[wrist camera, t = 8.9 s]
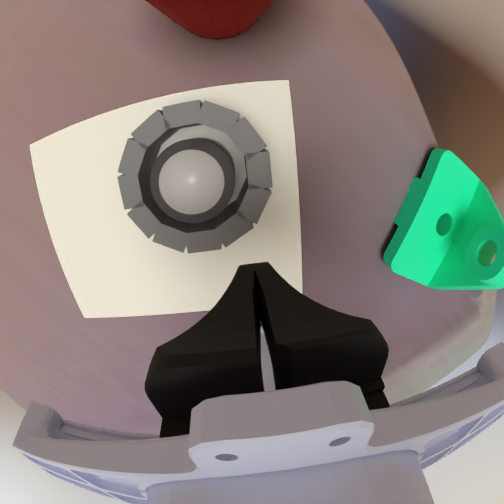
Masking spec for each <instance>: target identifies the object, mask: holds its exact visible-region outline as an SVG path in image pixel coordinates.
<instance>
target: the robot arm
mask: <svg viewBox="0 0 504 504" xmlns="http://www.w3.org/2000/svg"><path fill="white" fill-rule="evenodd" d="M261 323H262V326H261ZM388 352H389V349H388V345H387V342H386V341H385V339H384V337H383V336H382V334H381V333H380V331H379V330H378V328H377V327H376V326H375V325H374V323H373V322H372V321H371V320H368V319H364V318H359V317H355V316H350V315H347V314H344V313H341V312H338V311H335V310H333V309H330V308H328V307H325V306H323V305H321V304H319V303H317V302H315V301H313V300H311V299H310V298H308V297H306V296H305V295H303V294H302V293H300V292H299V291H297V290H296V289H295V288H294V287H292V286H291V285H290V284H289V283H288V282H287V281H286V280H285V279H284V278H282V277H281V276H280V275H279V274H278V272H277V271H276V270H275V269H274V268H273V267H272V265H271V264H270V263H269V262H261V263H253V264H244V265H240V266H239V267H238V268H237V271H236V273H235V275H234V277H233V279H232V281H231V283H230V285H229V286H228V288H227V290H226V291H225V293H224V294H223V295H222V297H221V298H220V300H219V301H218V302H217V304H216V305H215V306H214V307H213V308H212V309H211V310H210V312H209V313H208V314H206V315H205V316H204V317H203V318H202V319H201V320H200V321H199V322H197V323H196V324H195V325H194V326H192V327H191V328H190V329H188V330H187V331H185V332H184V333H182V334H181V335H179V336H178V337H176V338H174V339H172V340H170V341H169V342H167V343H165V344H163V345H161V346H159V347H157V349H156V351H155V353H154V356H153V358H152V360H151V363H150V366H149V370H148V373H147V377H146V381H145V392H146V394H147V396H148V398H149V399H150V401H151V402H152V404H153V405H154V407H155V408H156V410H157V411H158V412H159V414H160V415H161V417H162V425H161V431H160V435H154V434H143V433H134V432H126V431H118V430H112V429H106V428H100V427H95V426H90V425H85V424H81V423H76V422H72V421H68V420H64V419H63V418H62V417H61V416H60V415H59V413H58V412H56V411H55V410H54V409H53V408H51V407H49V406H46V405H43V404H39V403H36V402H31V403H30V405H29V407H28V409H27V412H26V414H25V416H24V418H23V421H22V423H21V425H20V428H19V430H18V432H17V435H16V437H15V440H14V443H13V448H14V449H16V450H17V451H18V452H19V453H21V454H22V455H23V456H25V457H26V458H27V459H29V460H30V461H31V462H33V463H34V464H36V465H37V466H38V467H40V468H41V469H43V470H44V471H46V472H47V473H49V474H50V475H52V476H54V477H56V478H59V479H61V480H64V481H66V482H68V483H71V484H73V485H76V486H79V487H81V488H84V489H87V490H89V491H92V492H95V493H98V494H101V495H104V496H107V497H110V498H113V499H116V500H120V501H124V502H127V503H131V504H434V501H433V499H432V496H431V493H430V490H429V487H428V485H427V482H426V479H425V477H424V474H423V471H422V470H423V469H425V468H426V467H428V466H430V465H432V464H434V463H435V462H437V461H439V460H441V459H442V458H444V457H446V456H447V455H449V454H450V453H452V452H454V451H455V450H457V449H458V448H460V447H461V446H463V445H464V444H466V443H467V442H469V441H470V440H472V439H473V438H474V437H475V436H477V435H478V434H480V433H481V432H482V431H484V430H485V429H487V428H488V427H489V426H491V425H492V424H493V423H495V422H496V421H497V420H498V419H500V418H501V417H502V416H503V415H504V343H503V342H500V343H499V344H497V345H495V346H494V347H492V348H490V349H488V350H487V351H486V352H485V353H484V354H483V355H482V356H481V358H480V360H479V361H478V363H477V366H476V367H475V368H473V369H471V370H469V371H467V372H465V373H463V374H462V375H460V376H457V377H456V378H454V379H451V380H450V381H447V382H445V383H443V384H441V385H439V386H437V387H434V388H432V389H430V390H427V391H425V392H423V393H420V394H418V395H415V396H413V397H410V398H408V399H405V400H402V401H399V402H397V403H394V404H391V405H389V403H388V401H387V399H386V396H385V394H384V392H383V390H384V388H385V386H384V383H383V381H382V379H381V375H382V372H383V370H384V367H385V364H386V361H387V358H388Z"/></svg>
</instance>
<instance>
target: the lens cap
mask: <svg viewBox="0 0 504 504" xmlns="http://www.w3.org/2000/svg"><path fill="white" fill-rule="evenodd" d="M150 187H151V192H152V195H153V198H154V200H155V202H156V203H157V205H158V206H159V207H160V208H161V210H162V211H163V212H165V213H166V214H167V215H168V216H170V217H172V218H174V219H176V220H178V221H181V222H186V223H199V222H204V221H207V220H209V219H212V218H213V217H215V216H217V215H218V214H219V213H221V212H222V211H223V210H224V209H225V207H226V206H227V205H228V203H229V202H230V200H231V198H232V195H233V192H234V187H235V165H234V161H233V158H232V156H231V154H230V153H229V151H228V150H227V149H226V148H225V147H224V146H223V145H222V144H221V143H219V142H217V141H215V140H213V139H210V138H204V137H198V138H192V139H186V140H181V141H178V142H176V143H174V144H172V145H170V146H169V147H167V148H166V149H165V150H164V151H162V152H161V154H160V155H159V156H158V157H157V159H156V161H155V163H154V165H153V167H152V170H151V175H150Z"/></svg>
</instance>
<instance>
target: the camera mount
mask: <svg viewBox="0 0 504 504" xmlns="http://www.w3.org/2000/svg"><path fill="white" fill-rule="evenodd" d="M394 223H395V224H397V225H398V228H397V230H396V232H395V234H394V236H393V238H392V240H391V242H390V243H389V245H388V247H387V249H386V251H385V253H384V262H385V263H386V264H387V265H388V266H389V268H390V269H391V270H392V271H393V272H395V273H397V274H399V275H402V276H404V277H406V278H409V279H411V280H414V281H416V282H419V283H421V284H423V285H426V286H428V287H431V288H433V289H435V290H479V289H480V290H481V289H502V288H504V220H503V218H502V216H501V214H500V212H499V210H498V208H497V206H496V204H495V202H494V200H493V198H492V196H491V195H490V193H489V191H488V189H487V187H486V186H485V185H484V184H483V183H482V182H481V180H480V179H478V177H477V176H476V175H475V174H474V173H473V172H472V171H471V170H470V169H469V168H468V167H467V166H466V165H465V164H464V163H463V162H462V161H461V160H460V159H459V158H458V157H457V156H456V155H455V154H454V153H452V152H451V151H448V150H444V149H439V148H436V149H434V150H433V151H432V152H431V154H430V157H429V159H428V162H427V164H426V167H425V169H424V172H423V174H422V177H421V179H420V178H417V177H414V180H413V182H412V184H411V186H410V189H409V191H408V193H407V195H406V198H405V200H404V202H403V204H402V206H401V208H400V210H399V212H398V214H397V216H396V218H395V220H394ZM496 253H497V255H496V258H495V260H494V261H493V263H492V264H490V263H491V260H492V258H493V256H494V255H495V254H496Z"/></svg>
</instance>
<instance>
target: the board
mask: <svg viewBox="0 0 504 504" xmlns="http://www.w3.org/2000/svg"><path fill="white" fill-rule="evenodd" d="M198 137H204V138H210V139H213V140H215V141H217V142H219V143H221V144H222V145H223V146H224V147H225V148H226V149H227V150H228V151H229V153H230V154H231V156H232V158H233V161H234V165H235V187H234V192H233V195H232V198H231V200H230V202H229V203H228V205H227V206H226V207H225V209H224V210H223V211H222V212H221V213H219V214H218V215H217V216H215V217H213V218H212V219H209V220H207V221H204V222H199V223H186V222H181V221H178V220H176V219H174V218H172V217H170V216H168V215H167V214H166V213H165V212H163V211H162V210H161V208H160V207H159V206H158V205H157V203H156V202H155V200H154V198H153V195H152V192H151V187H150V175H151V170H152V167H153V165H154V163H155V161H156V159H157V157H158V156H159V155H160V154H161V152H162V151H164V150H165V149H166V148H167V147H169V146H170V145H172V144H174V143H176V142H178V141H181V140H186V139H192V138H198ZM30 151H31V157H32V163H33V168H34V173H35V178H36V183H37V188H38V192H39V196H40V200H41V204H42V208H43V211H44V215H45V219H46V222H47V225H48V229H49V232H50V235H51V238H52V241H53V244H54V247H55V250H56V252H57V255H58V258H59V261H60V263H61V266H62V268H63V271H64V273H65V276H66V278H67V281H68V283H69V286H70V288H71V290H72V292H73V295H74V297H75V299H76V301H77V303H78V305H79V308H80V310H81V312H82V314H83V316H84V318H102V317H126V316H144V315H159V314H173V313H185V312H196V311H207V310H211V309H212V308H213V307H214V306H215V305H216V304H217V302H218V301H219V300H220V298H221V297H222V295H223V294H224V293H225V291H226V290H227V288H228V286H229V285H230V283H231V281H232V279H233V277H234V275H235V273H236V271H237V268H238V267H239V266H240V265H244V264H253V263H261V262H269V263H270V264H271V265H272V267H273V268H274V269H275V270H276V271H277V272H278V274H279V275H280V276H281V277H282V278H284V279H285V280H286V281H287V282H288V283H289V284H290V285H291V286H292V287H294V288H295V289H296V290H297V291H299V292H300V293H302V252H301V225H300V205H299V188H298V173H297V159H296V147H295V135H294V125H293V115H292V105H291V96H290V88H289V80H276V81H260V82H248V83H238V84H229V85H221V86H214V87H208V88H202V89H196V90H190V91H185V92H180V93H175V94H171V95H166V96H162V97H158V98H154V99H150V100H146V101H142V102H139V103H135V104H131V105H128V106H125V107H121V108H118V109H115V110H112V111H109V112H106V113H103V114H100V115H98V116H95V117H92V118H89V119H87V120H84V121H82V122H79V123H77V124H74V125H72V126H69V127H67V128H65V129H62V130H60V131H58V132H55V133H53V134H51V135H49V136H47V137H45V138H43V139H41V140H39V141H37V142H35V143H33V144H31V145H30Z"/></svg>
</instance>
